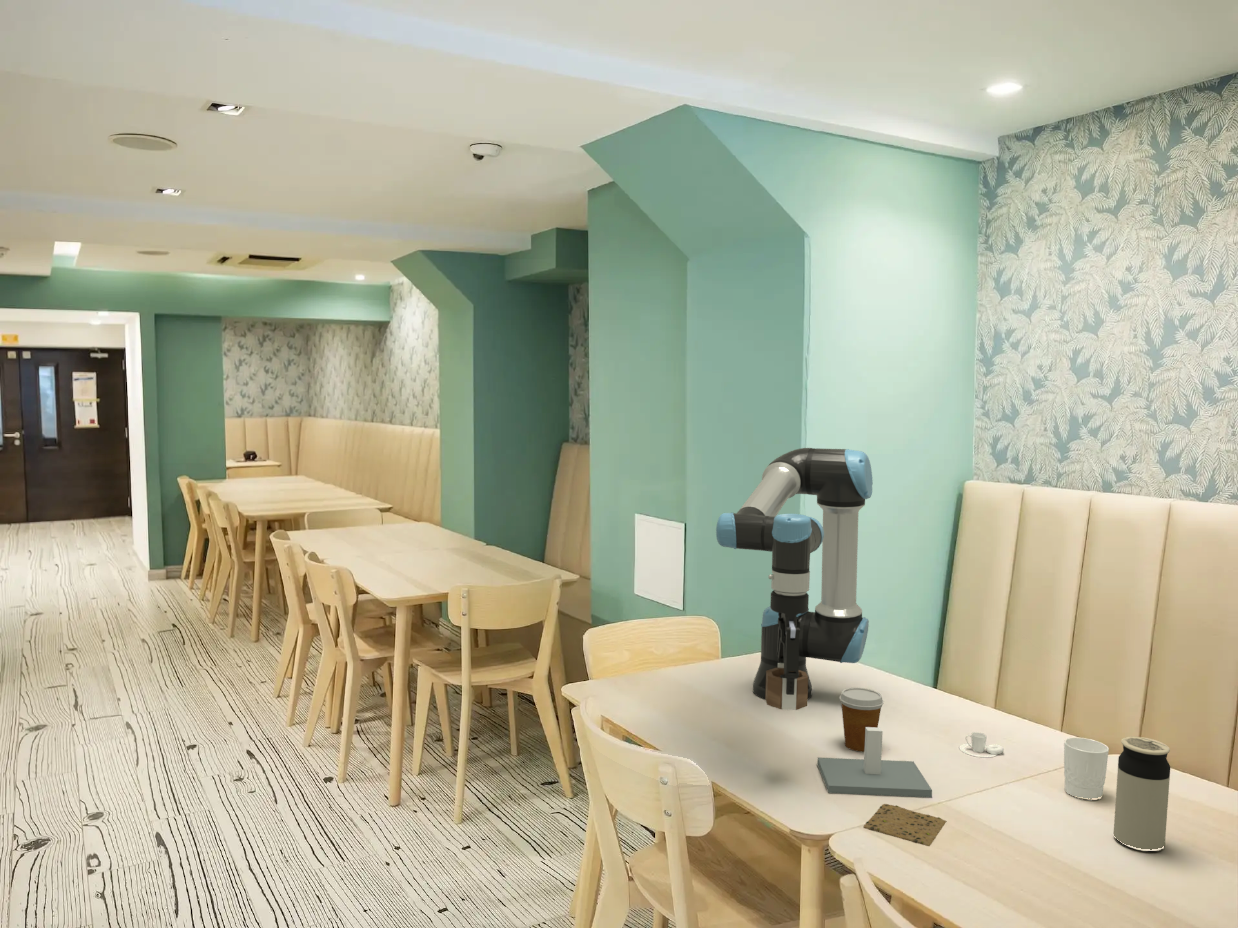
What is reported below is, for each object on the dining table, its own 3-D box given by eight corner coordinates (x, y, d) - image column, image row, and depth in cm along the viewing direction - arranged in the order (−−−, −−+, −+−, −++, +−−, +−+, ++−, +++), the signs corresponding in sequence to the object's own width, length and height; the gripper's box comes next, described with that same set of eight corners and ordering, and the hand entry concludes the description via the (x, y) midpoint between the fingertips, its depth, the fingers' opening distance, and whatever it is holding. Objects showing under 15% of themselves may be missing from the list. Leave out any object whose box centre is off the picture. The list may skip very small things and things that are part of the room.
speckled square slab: (930, 849, 162) (930, 843, 162) (861, 829, 168) (862, 824, 168) (948, 823, 172) (948, 818, 172) (882, 805, 179) (883, 800, 178)
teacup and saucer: (1006, 753, 206) (1007, 735, 205) (992, 763, 200) (993, 745, 200) (967, 742, 212) (968, 725, 211) (953, 752, 206) (954, 734, 206)
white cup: (1088, 805, 180) (1091, 755, 179) (1052, 789, 187) (1055, 740, 186) (1114, 797, 183) (1117, 748, 182) (1078, 782, 190) (1081, 734, 189)
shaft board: (817, 764, 197) (819, 715, 196) (913, 768, 196) (915, 719, 195) (828, 792, 183) (830, 740, 182) (931, 797, 182) (934, 745, 181)
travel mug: (1143, 857, 160) (1150, 755, 158) (1103, 836, 167) (1109, 738, 165) (1175, 848, 163) (1182, 749, 161) (1133, 828, 170) (1140, 733, 169)
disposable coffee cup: (832, 749, 205) (834, 696, 204) (843, 735, 213) (845, 684, 212) (876, 758, 201) (878, 703, 200) (885, 743, 209) (888, 691, 208)
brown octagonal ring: (764, 695, 193) (765, 666, 193) (803, 696, 193) (804, 667, 192) (768, 708, 185) (769, 678, 185) (808, 710, 185) (810, 680, 184)
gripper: (765, 579, 197) (762, 684, 200) (776, 603, 177) (773, 719, 179) (801, 580, 197) (797, 685, 199) (816, 604, 176) (812, 720, 178)
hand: (786, 701), depth 189 cm, fingers closed on brown octagonal ring, 8 cm apart
